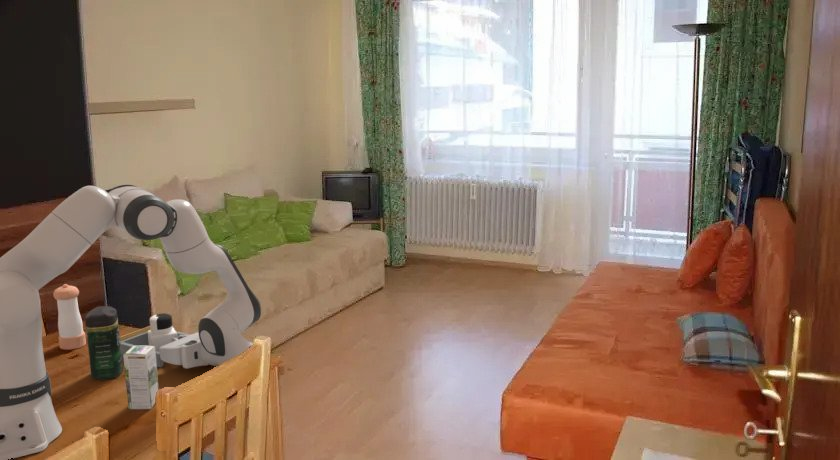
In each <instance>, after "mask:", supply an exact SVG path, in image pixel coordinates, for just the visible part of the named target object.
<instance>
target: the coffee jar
mask: <svg viewBox="0 0 840 460" xmlns="http://www.w3.org/2000/svg"><path fill="white" fill-rule="evenodd" d="M84 324H85V332H86V333H85V334H86V338H87V339H86V342H87V347H88V358H89V367H90V376H91V378H92V379H93V380H101V381H106V380H110V379H113V378H116V377H117V378H118V377H119V376H120V375H121V374H122V372H123V370H124V361H123V357H122V354H121V345H120V337H121V336H120V328H119V327H120V326H119V318H118V311H117V309H116V308H114V307H113V306H111V305H104V306H95V307H94V308H92V309H91V310H89V311H88V312H87V314H86V315H85V317H84Z"/></svg>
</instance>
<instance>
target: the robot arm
mask: <svg viewBox="0 0 840 460" xmlns="http://www.w3.org/2000/svg"><path fill="white" fill-rule="evenodd" d="M112 228H117V229H119V230H120V231H121V232H123V233H124V234H127V235H128V236H131V237H133V238H135V239H137V240H141V241H151V240H156V239H159V240H160V243H161V245H162V247H163V250H164V252H165V255H166V257H167V260H168V261H169V263H170V264H171V267H173V269H175V270H177V271H178V272H180V273H182V274H187V275H198V274H199V275H200V274H205V273H209V272H215V273H216V275H217V276H218V279H220V281H221V282H222V284H223V286H224V288H225V289H226V291H227V296H226V298H225V299H224V300H223V301H222V302H221V303H219V304H218V305H217V306H216V307H215V308H213V309H211V310H210V311H209V312H208V313H207V314H206V315H204V316H203V317H202V318H201V319H200V320H199V322H198V326H197V327H198V328H197V329H198V330H197V331H195V332H194V333H191V334H190V335H184V336H183V335H179V336H176V337H174V338H172V339H171V341H172V342H171V343H169V344H166V345H164V346H161V347H160V348H159V354H160V359H161V360H162V361H163V363H164V362H165V363H167V364H171V365H174V366H175V365H176V366H181V365H182V368H183V369H191V368H196V367H202V366H209V365H211V366H215V367H219V365H220V364H222V363H224V362H226V361H228V360H230V359H232V358H234V357H236V356H238V355H240V354H242V353H243V352H244V351H245V349H248V348H250V347H251V346H252V345H253V343H254V342H252V341H250V340H247V339H246V338H245V337H244V336H243V335H242V333H243V332H244V331H246V330H247V328H249V327H251V326H252V325H254V324H255V323H256V322H258V320H260V318H261V314H262V306H261V302H260V300H259V298H258V297H257V295H255V293H254V292H253V291H252V290H251V288H250V287H249V285H248V284H247V282H246V280H245V278H244V276H243V275H242V274H241V273H242V272H241V271H240V270H239V268H238V267H237V265H236V263H235V261H234V260H233V258H232V257H231V255H230V254H229V252H228V251H227V250H226V249H225V248H224V247H223V246H222V245H220V244H219V243H218V244H217V243H214V242H213V241H212V240H211V239H210V238H211V237H210V236H209V235H208V231H207V230H206V226H205V225H204V223H203V221H202V219H201V217H200V216H199V214H198V212H197V211H196V209H195V207H194V206H193V205H192V203H190V202H189V201H187V200H186V199H182V198H181V199H179V198H177V199H171V200H168V201H165V200H164V199H162V198H160V197H159V196H156V195H154V193H152V192H151V191H149V190H147V189H145V188H141V187H138V186H136V185H134V184H133V185H132V184H122V185H117V186H115V187H112V188H109V189H106V190H104V189H103V188H101V187H98V186H95V185H86V186H83V187H81V188H79V189H77V191H74V192H73V193H72V194H71V195H69V196H68V197H67V198H65V199H64V200H63V201H62V202H61V203H60V204H58V205H57V206H56V207H55V208H54V209H53V210H52V211H51V212H50V213H49V214H48V215H47V216H46V217H45V218H44V219H42V221H41V222H40V223H39V224H38V225H37V226H36V227H35V228H34V229H33V230H32V231H31V232H30V233H29V234H28V235H27V236H26V237H25V238H23V239H22V240H21V241H20V242H19V243H18V244H16V245H15V246H13V247H12V248H11V249H10V250H8V251H7V252H6V253H4V254H3V255H2V256H0V460H8V459H9V460H12V459H11V458H13V459H16V458H17V459H18V458H20V457H23V456H28V455H32V454H36V453H40V452H42V451H44V450H46V448H47V447H48V446H49V444H51V442H53V441H54V440H55V439H57V438H58V437H59V436H60V435H61V433H62V431H63V426H62V425H61V423H60V421H59V419H58V416H57V415H56V411H55V408H54V405H53V402H52V387H51V386H52V385H51V384H52V383H51V378H50V376H49V372H47V370H46V362H45V356H44V346H43V340H42V338H43V336H42V335H43V334H42V331H43V330H42V329H43V328H42V324H43V323H42V307H41V306H42V305H41V298H40V292H39V290H40V289H42V288H43V287H45V286H46V285H47V284H48V283H50V282H51V281H52V280H54V279H55V278H57V277H58V276H60V275H62V274H64V273H66V272H67V271H68V270H70V269H71V267H72V266H74V264H75V263H76V262H77V261H78V260H79V259H80V258H81V256H83V255H84V253H86V251H87V250H89V248H90V247H91V246H92V245H93V244H94V243H95V242H96V241H97V240H98V239H99V238H100V237H101V235H102V234H104V233H105V232H107V231H108V230H110V229H112Z"/></svg>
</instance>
